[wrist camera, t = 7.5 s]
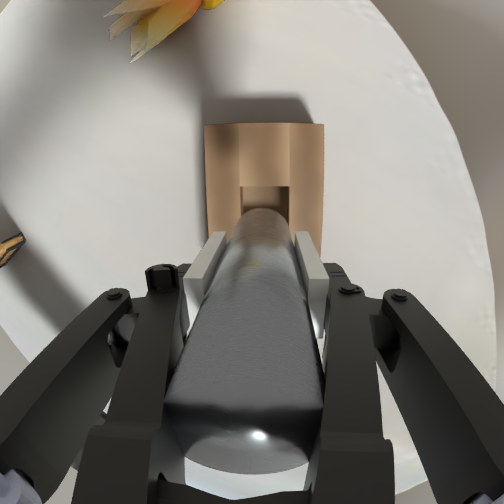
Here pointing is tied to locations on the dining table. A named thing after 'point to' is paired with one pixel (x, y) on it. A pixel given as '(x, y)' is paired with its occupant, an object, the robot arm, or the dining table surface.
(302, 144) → the bore block
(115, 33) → the torch
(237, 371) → the pin
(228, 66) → the dining table surface
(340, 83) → the dining table surface
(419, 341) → the robot arm
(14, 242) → the ammunition clip
